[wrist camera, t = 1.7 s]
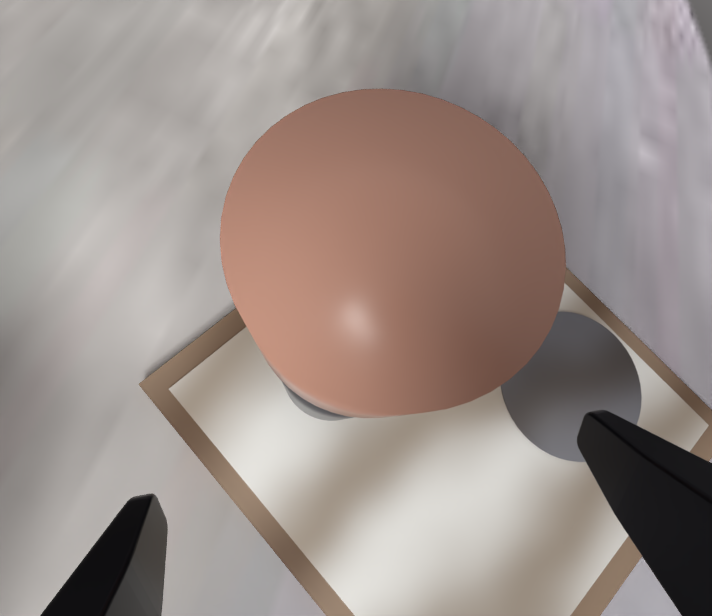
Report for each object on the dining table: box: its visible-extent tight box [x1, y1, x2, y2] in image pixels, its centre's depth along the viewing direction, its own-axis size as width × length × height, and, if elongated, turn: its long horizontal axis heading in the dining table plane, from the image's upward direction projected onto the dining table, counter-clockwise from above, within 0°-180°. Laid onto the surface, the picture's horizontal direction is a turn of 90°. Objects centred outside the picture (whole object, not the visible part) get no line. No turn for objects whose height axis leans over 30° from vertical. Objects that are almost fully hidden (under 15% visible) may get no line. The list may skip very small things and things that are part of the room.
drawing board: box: [139, 268, 712, 616], centre depth 19 cm, size 20×19×1 cm
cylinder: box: [220, 89, 566, 421], centre depth 12 cm, size 5×5×14 cm
